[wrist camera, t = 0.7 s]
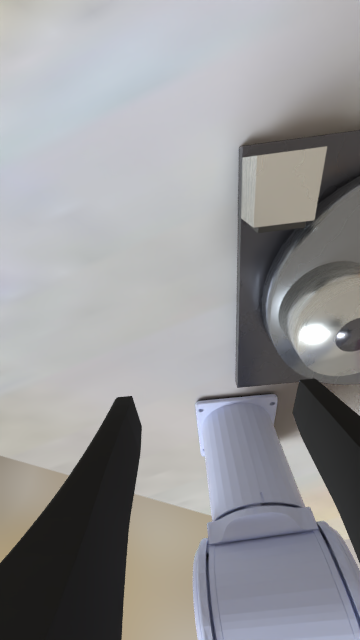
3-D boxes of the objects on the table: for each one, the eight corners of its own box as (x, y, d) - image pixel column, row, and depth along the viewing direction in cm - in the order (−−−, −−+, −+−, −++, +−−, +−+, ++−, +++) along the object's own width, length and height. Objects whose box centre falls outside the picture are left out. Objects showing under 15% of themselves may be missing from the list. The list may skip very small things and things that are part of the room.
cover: (361, 339, 17) (395, 371, 14) (274, 348, 17) (292, 381, 14) (392, 254, 14) (443, 275, 11) (284, 267, 14) (309, 289, 11)
